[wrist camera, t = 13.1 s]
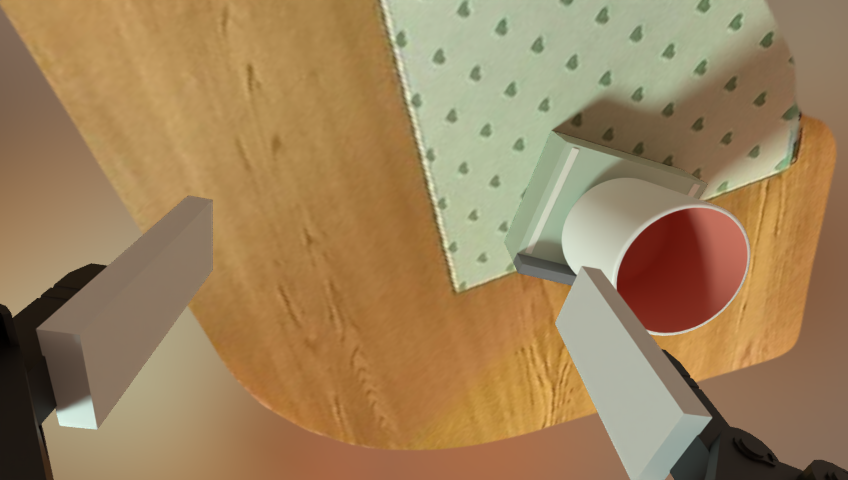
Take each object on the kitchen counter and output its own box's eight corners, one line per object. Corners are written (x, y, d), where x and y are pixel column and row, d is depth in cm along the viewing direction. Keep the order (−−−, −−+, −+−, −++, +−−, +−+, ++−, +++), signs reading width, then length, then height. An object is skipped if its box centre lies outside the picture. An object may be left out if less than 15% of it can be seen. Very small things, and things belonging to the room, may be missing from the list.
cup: (536, 217, 38) (587, 259, 29) (635, 151, 37) (722, 172, 28) (586, 298, 41) (647, 360, 32) (679, 240, 40) (770, 286, 31)
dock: (551, 130, 40) (575, 148, 34) (682, 169, 42) (722, 192, 37) (504, 242, 45) (518, 273, 39) (622, 271, 47) (650, 303, 42)
